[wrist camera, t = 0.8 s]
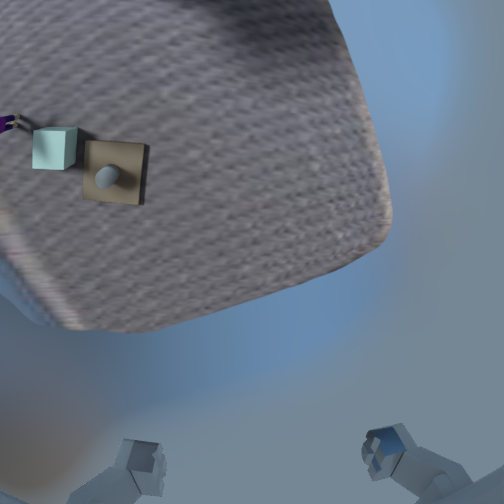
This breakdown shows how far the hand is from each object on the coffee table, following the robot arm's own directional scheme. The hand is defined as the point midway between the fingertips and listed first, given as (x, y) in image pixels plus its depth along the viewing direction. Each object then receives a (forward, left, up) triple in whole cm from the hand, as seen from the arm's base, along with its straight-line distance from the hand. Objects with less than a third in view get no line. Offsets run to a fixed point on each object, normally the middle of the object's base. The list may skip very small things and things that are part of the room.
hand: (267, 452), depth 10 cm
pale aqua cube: (-2, -27, -44) cm, 52 cm away
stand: (+2, -17, -44) cm, 47 cm away
